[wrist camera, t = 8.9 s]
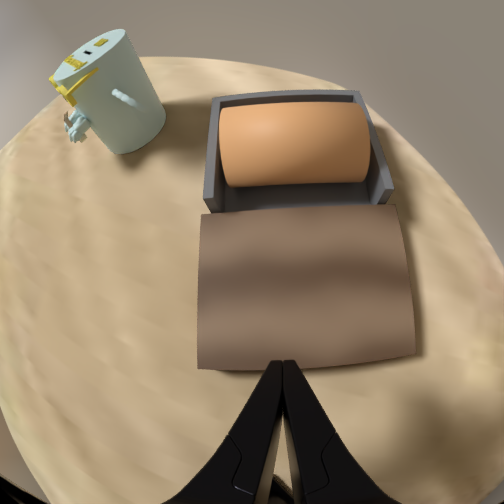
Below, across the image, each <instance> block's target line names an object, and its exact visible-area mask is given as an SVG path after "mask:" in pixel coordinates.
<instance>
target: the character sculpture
mask: <svg viewBox="0 0 504 504" xmlns="http://www.w3.org/2000/svg"><path fill="white" fill-rule="evenodd" d="M49 81H50V82H51V83H52V84H53V86H54V87H55V88H56V90H57V91H58V92H59V93H60V94H62V95H63V97H64V99H65V100H66V101H67V102H68V103H69V104H70V105H71V106H72V107H75V108H76V110H75V111H74V112H73V113H72V115H71V116H70V117H69V118H68V111H67V112H65V113H64V121H65V124H64V126H65V131H66V132H67V131H69V137H70V141H71V142H72V141H74V143H76V142H77V141H79V140H80V142H81V143H82V142H83V141H84V140H85V139H86V138H87V136H86V135H85V132H86V131H87V130H88V129H89V128H90V127H91V128H92V130H93V131H94V132H95V133H96V134H97V136H98V137H99V138H100V139H101V141H102V142H103V143H104V144H105V145H106V147H107V148H108V149H109V150H110V151H111V152H113V153H115V154H125V153H130V152H133V151H135V150H137V149H139V148H141V147H143V146H144V145H146V144H147V143H148V142H150V141H151V140H152V139H153V138H154V137H155V136H156V135H157V134H158V133H159V132H160V130H161V129H162V127H163V125H164V123H165V120H166V113H165V110H164V108H163V106H162V104H161V102H160V100H159V98H158V96H157V94H156V92H155V90H154V88H153V86H152V84H151V82H150V80H149V78H148V76H147V74H146V72H145V70H144V68H143V66H142V64H141V62H140V60H139V58H138V56H137V54H136V52H135V50H134V47H133V45H132V43H131V41H130V39H129V37H128V35H127V33H126V31H125V30H123V29H117V30H113V31H110V32H107V33H105V34H103V35H100V36H98V37H96V38H94V39H93V40H91V41H89V42H88V43H86V44H85V45H83V46H82V47H80V48H79V49H77V50H76V51H75V52H74V53H73V54H71V56H69V57H67V58H66V59H65V60H64V62H63V63H62V64H61V65H60V67H59V68H58V69H57V71H56V72H55V74H54V75H52V76H51V77H50V78H49Z"/></svg>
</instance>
